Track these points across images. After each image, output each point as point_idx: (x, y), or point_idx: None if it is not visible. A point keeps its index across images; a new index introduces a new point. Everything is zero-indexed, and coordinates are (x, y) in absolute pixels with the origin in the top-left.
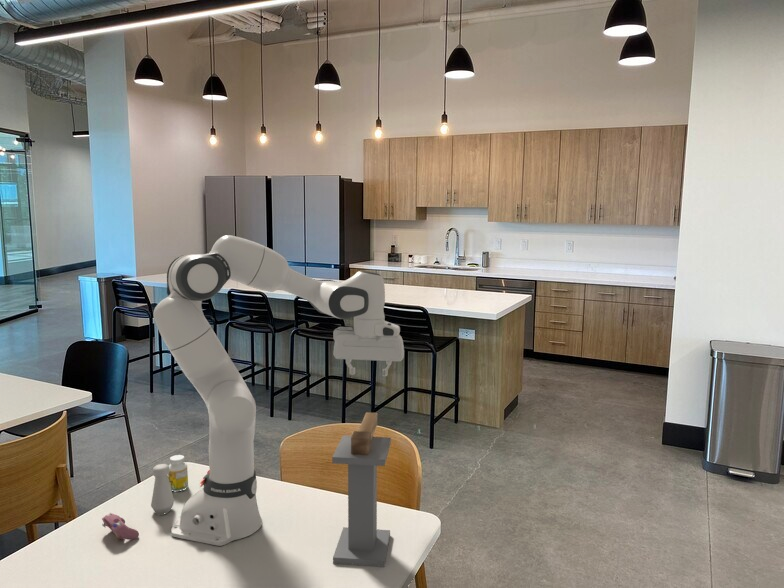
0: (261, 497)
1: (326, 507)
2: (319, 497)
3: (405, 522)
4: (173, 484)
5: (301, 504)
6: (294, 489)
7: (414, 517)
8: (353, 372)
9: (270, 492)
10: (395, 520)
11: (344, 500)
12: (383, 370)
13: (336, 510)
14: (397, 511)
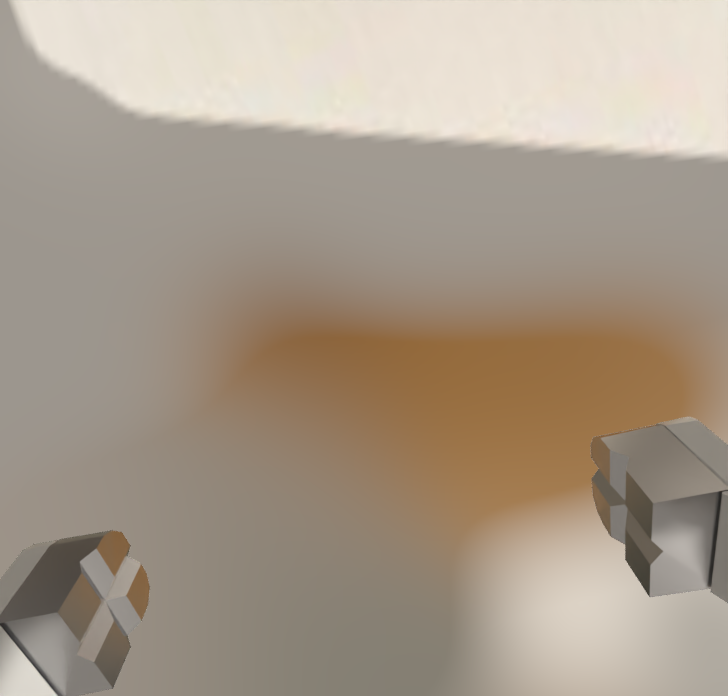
0: (722, 4)
1: (447, 19)
2: (499, 89)
3: (124, 13)
4: None
5: (549, 6)
6: (611, 117)
7: (112, 65)
8: (630, 449)
9: (696, 59)
10: (165, 15)
11: (401, 100)
12: (33, 613)
13: (402, 9)
14: (187, 88)
